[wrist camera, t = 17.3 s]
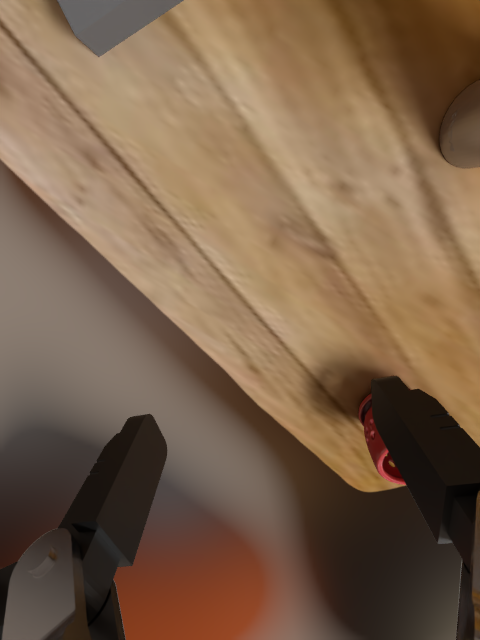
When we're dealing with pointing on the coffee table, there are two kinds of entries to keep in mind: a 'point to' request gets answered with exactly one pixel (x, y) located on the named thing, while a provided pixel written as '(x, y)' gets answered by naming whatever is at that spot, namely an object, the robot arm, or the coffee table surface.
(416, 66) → the coffee table surface
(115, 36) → the flat gray square
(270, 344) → the coffee table surface
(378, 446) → the plant pot
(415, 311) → the coffee table surface
